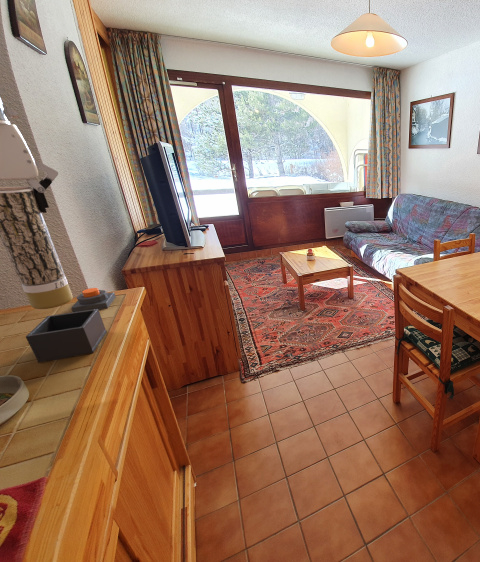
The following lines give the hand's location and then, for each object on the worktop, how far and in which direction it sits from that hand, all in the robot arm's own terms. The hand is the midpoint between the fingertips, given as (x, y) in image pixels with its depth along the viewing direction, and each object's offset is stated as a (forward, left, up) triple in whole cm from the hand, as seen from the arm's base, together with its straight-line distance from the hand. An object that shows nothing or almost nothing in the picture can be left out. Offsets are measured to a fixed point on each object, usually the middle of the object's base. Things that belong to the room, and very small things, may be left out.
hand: (16, 213), depth 62 cm
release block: (-2, +24, -31) cm, 39 cm away
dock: (+1, -1, -31) cm, 31 cm away
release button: (-2, +24, -28) cm, 37 cm away
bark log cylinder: (0, 0, -20) cm, 20 cm away
